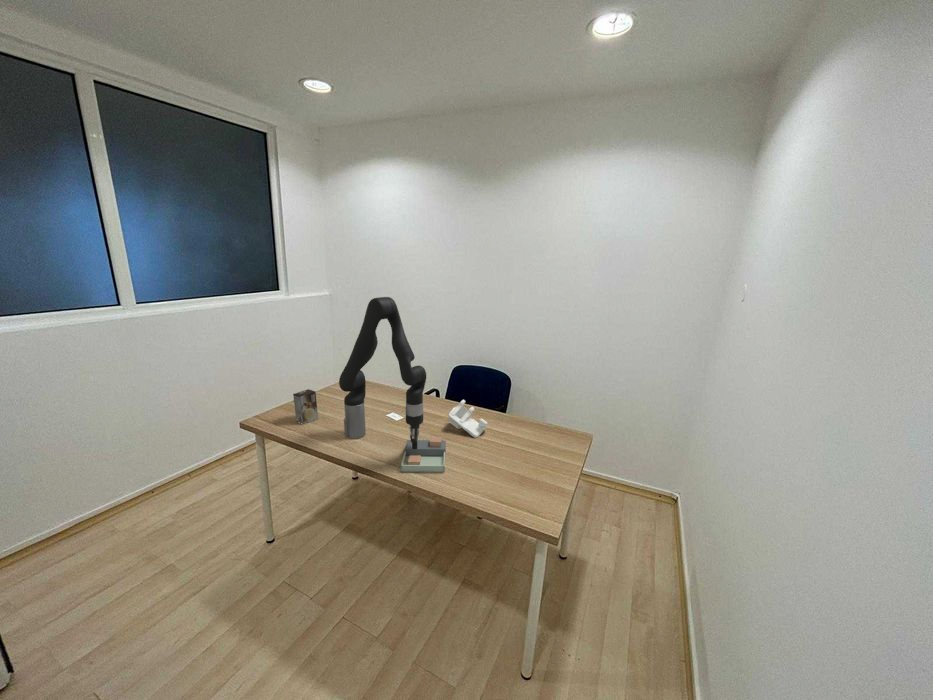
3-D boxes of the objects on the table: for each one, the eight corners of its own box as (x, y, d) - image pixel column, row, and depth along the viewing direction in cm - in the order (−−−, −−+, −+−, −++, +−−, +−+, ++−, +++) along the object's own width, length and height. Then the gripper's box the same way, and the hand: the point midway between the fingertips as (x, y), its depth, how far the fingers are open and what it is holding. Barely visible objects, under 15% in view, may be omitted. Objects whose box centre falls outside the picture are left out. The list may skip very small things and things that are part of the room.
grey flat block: (404, 456, 157) (404, 448, 156) (407, 447, 165) (407, 439, 164) (445, 457, 158) (445, 449, 157) (445, 448, 165) (445, 440, 164)
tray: (400, 472, 146) (400, 465, 145) (404, 457, 156) (404, 451, 156) (444, 472, 146) (444, 466, 146) (445, 457, 157) (445, 451, 156)
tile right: (429, 446, 158) (429, 441, 158) (430, 441, 163) (430, 436, 162) (441, 447, 158) (441, 442, 158) (441, 441, 163) (441, 436, 163)
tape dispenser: (480, 436, 187) (491, 419, 182) (470, 446, 177) (482, 428, 172) (451, 413, 192) (461, 396, 187) (440, 421, 183) (451, 403, 177)
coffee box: (311, 416, 194) (308, 388, 190) (318, 419, 191) (316, 391, 187) (295, 422, 186) (292, 393, 183) (303, 425, 183) (300, 396, 179)
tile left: (409, 455, 152) (409, 460, 153) (407, 461, 148) (408, 467, 148) (420, 455, 153) (420, 460, 153) (419, 461, 148) (419, 467, 149)
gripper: (407, 405, 157) (408, 440, 161) (403, 418, 144) (404, 456, 148) (424, 405, 157) (424, 440, 161) (421, 418, 144) (422, 456, 148)
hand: (414, 448), depth 155 cm, fingers closed
